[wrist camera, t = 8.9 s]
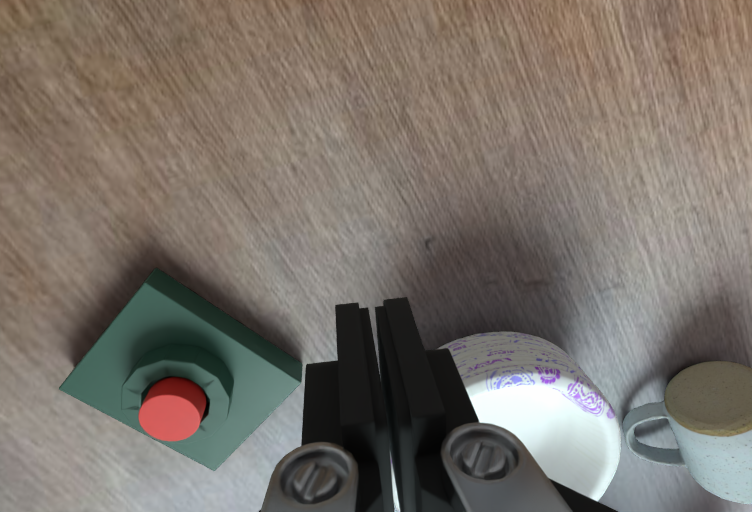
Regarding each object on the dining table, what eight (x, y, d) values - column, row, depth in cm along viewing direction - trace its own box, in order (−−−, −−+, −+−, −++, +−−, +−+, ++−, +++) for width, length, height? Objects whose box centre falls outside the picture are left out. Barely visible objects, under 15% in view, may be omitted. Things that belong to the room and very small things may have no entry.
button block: (73, 368, 34) (43, 408, 30) (156, 266, 31) (134, 295, 28) (220, 449, 38) (209, 492, 34) (303, 363, 35) (300, 400, 32)
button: (136, 403, 31) (126, 423, 29) (168, 366, 30) (160, 384, 29) (185, 430, 32) (178, 450, 31) (217, 395, 31) (212, 414, 30)
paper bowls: (580, 298, 36) (646, 362, 28) (557, 456, 42) (607, 543, 34) (371, 316, 34) (385, 388, 27) (379, 476, 40) (392, 570, 33)
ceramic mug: (724, 338, 38) (813, 404, 31) (750, 405, 41) (836, 479, 34) (601, 402, 40) (659, 479, 33) (634, 462, 43) (694, 544, 36)
